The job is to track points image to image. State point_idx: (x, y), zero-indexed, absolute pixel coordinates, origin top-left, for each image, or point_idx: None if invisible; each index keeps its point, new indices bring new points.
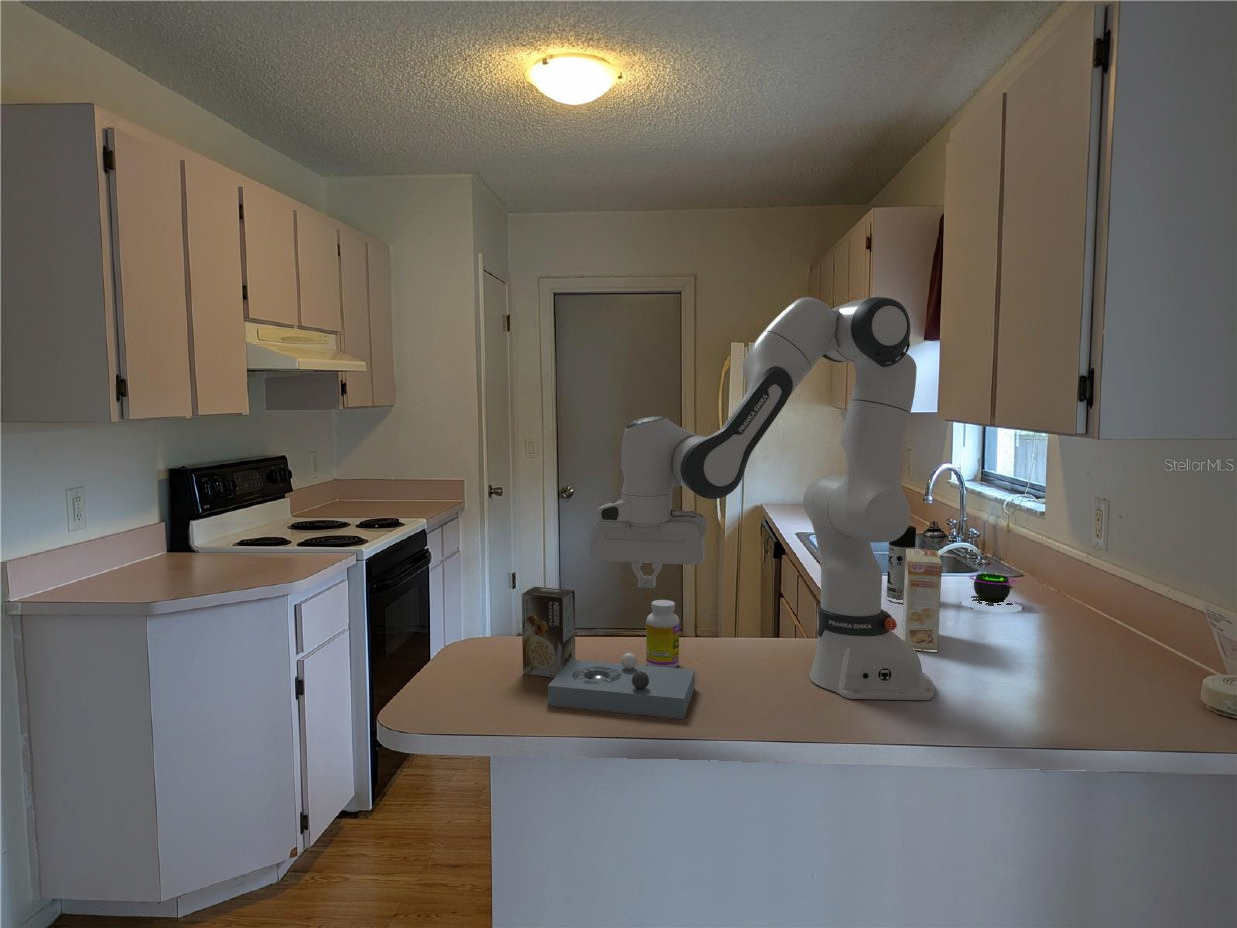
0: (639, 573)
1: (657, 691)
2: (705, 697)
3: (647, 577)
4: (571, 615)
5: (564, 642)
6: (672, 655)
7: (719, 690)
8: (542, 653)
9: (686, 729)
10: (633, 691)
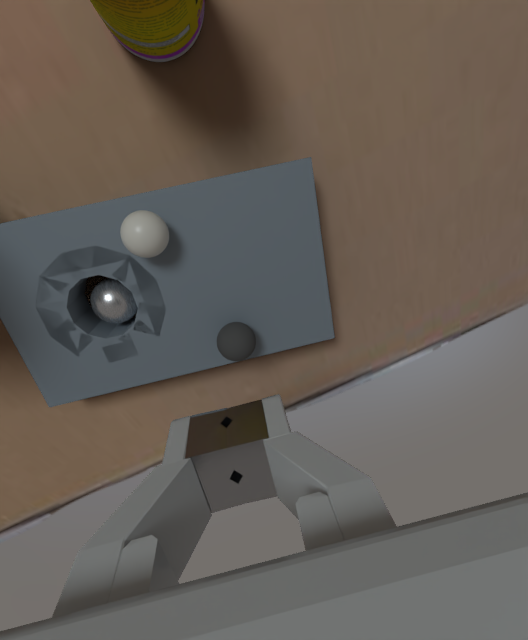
0: (191, 543)
1: (273, 329)
2: (333, 203)
3: (247, 487)
4: None
5: None
6: (196, 17)
7: (354, 145)
8: None
9: (336, 354)
10: None
